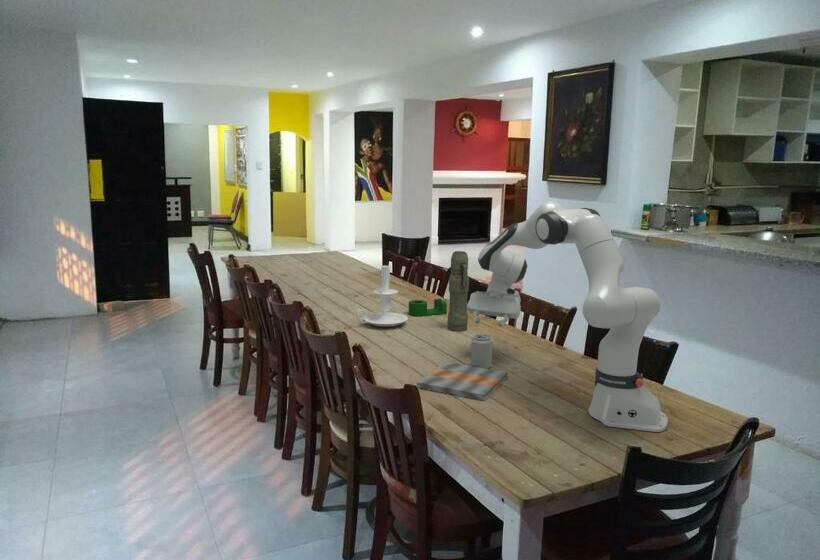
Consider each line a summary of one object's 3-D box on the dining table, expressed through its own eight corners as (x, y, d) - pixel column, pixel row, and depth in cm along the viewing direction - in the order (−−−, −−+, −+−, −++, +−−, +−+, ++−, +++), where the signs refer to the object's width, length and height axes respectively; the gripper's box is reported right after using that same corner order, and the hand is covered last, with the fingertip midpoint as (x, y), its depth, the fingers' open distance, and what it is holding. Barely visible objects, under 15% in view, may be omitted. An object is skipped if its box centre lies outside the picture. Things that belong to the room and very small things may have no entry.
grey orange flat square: (507, 377, 218) (507, 372, 217) (484, 401, 197) (484, 395, 196) (444, 366, 228) (444, 361, 228) (416, 387, 207) (416, 382, 206)
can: (479, 362, 233) (480, 331, 231) (495, 367, 228) (496, 336, 226) (466, 367, 228) (467, 335, 226) (482, 372, 223) (483, 340, 221)
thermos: (458, 324, 286) (460, 249, 279) (472, 330, 276) (475, 253, 269) (442, 326, 282) (444, 250, 275) (456, 333, 271) (458, 254, 265)
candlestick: (347, 322, 286) (347, 263, 280) (394, 316, 298) (395, 259, 292) (366, 334, 268) (366, 270, 263) (415, 327, 280) (416, 266, 275)
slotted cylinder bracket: (412, 317, 297) (413, 304, 296) (405, 313, 305) (405, 300, 304) (446, 314, 304) (446, 301, 303) (438, 310, 312) (438, 298, 311)
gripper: (470, 286, 239) (460, 316, 233) (522, 291, 231) (513, 323, 224) (474, 295, 244) (464, 325, 238) (524, 301, 235) (516, 332, 229)
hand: (488, 324), depth 231 cm, fingers open, 8 cm apart
